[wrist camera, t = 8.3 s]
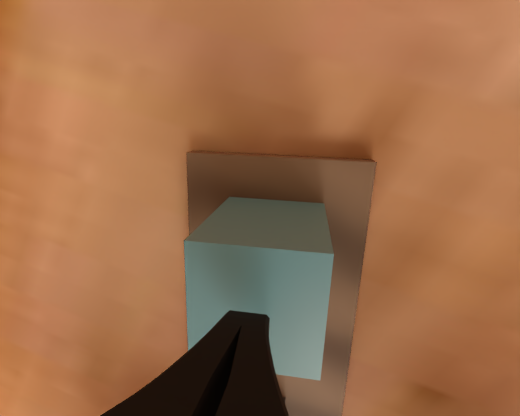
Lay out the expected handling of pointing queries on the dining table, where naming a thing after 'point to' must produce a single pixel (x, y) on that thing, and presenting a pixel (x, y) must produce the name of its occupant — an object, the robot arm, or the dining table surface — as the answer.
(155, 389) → the robot arm
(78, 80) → the dining table surface
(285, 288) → the teal block
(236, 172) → the walnut board
